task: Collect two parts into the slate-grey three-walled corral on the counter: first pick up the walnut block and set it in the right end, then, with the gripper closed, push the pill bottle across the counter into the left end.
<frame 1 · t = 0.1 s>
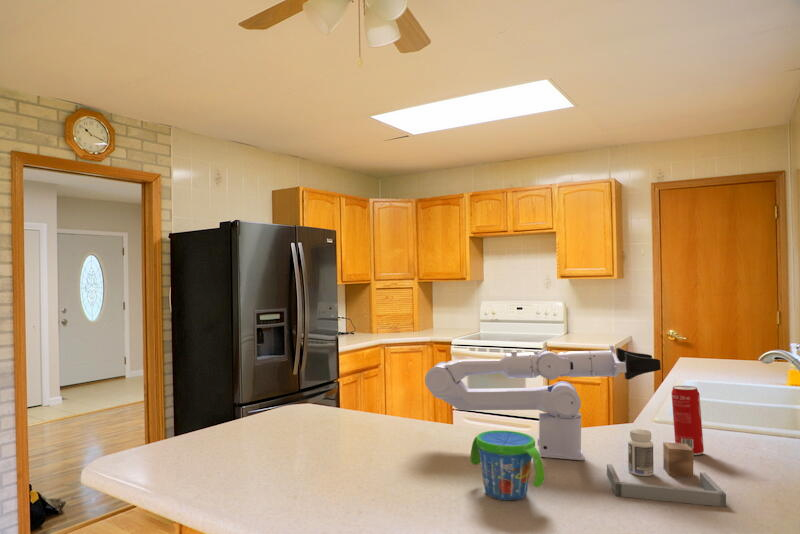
hand: (655, 362, 116), 22 cm above the worktop, tool horizontal, fingers open, 7 cm apart
walnut block: (678, 473, 109), on the worktop
beverage can: (687, 452, 123), on the worktop
pill bottle: (640, 473, 109), on the worktop
snack cup: (505, 495, 97), on the worktop
corral: (662, 489, 100), on the worktop
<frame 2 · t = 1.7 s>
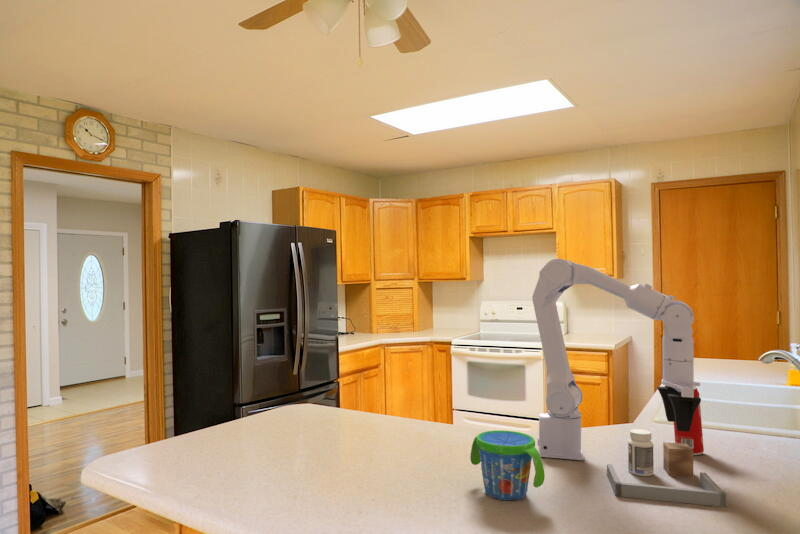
hand: (678, 426, 109), 10 cm above the worktop, tool pointing down, fingers open, 7 cm apart
nothing on the worktop moved.
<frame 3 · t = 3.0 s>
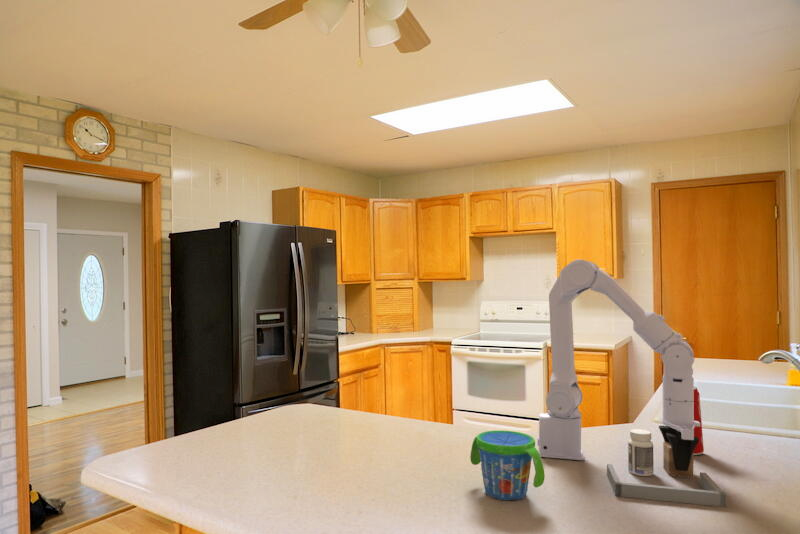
hand: (678, 465, 109), 1 cm above the worktop, tool pointing down, fingers closed on walnut block, 4 cm apart
walnut block: (678, 472, 109), on the worktop, touching gripper
everything else where it was.
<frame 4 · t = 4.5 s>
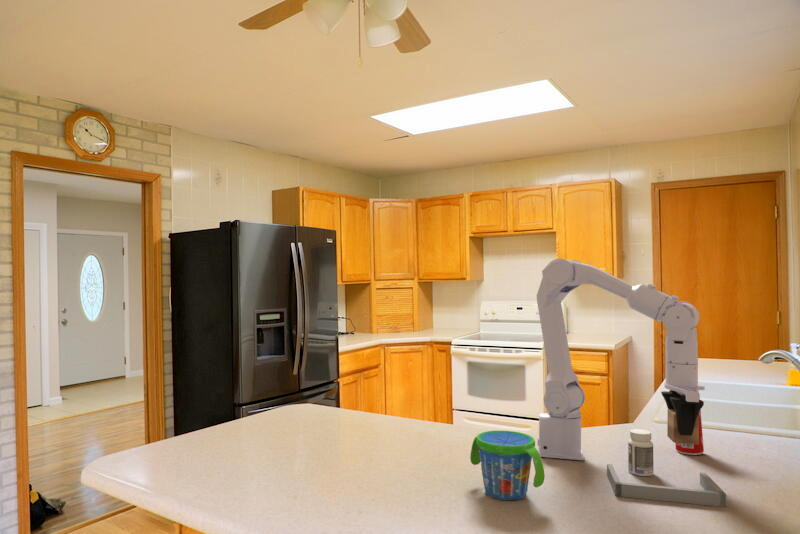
hand: (681, 431, 106), 9 cm above the worktop, tool pointing down, fingers closed on walnut block, 4 cm apart
walnut block: (682, 440, 106), point 8 cm above the worktop, touching gripper
everything else where it was.
when the fingers open (4 cm above the worktop, at t = 6.4 s): walnut block drops 2 cm, on the worktop.
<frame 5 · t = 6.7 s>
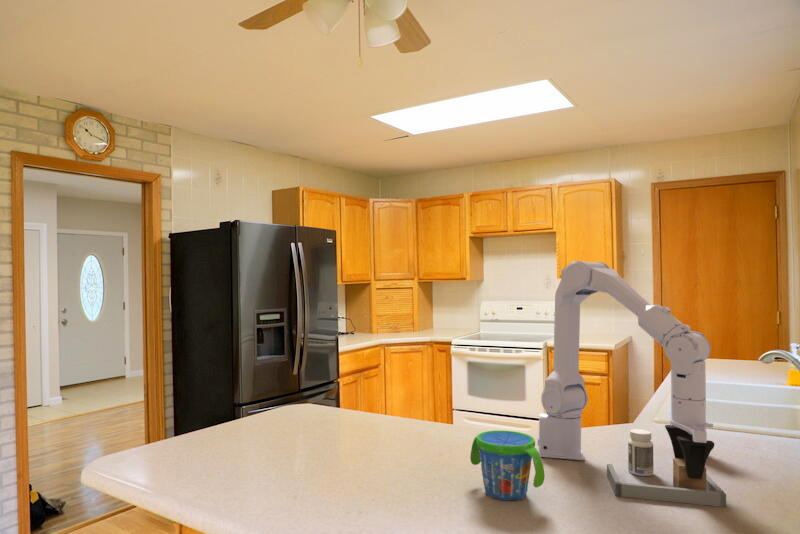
hand: (688, 471, 99), 4 cm above the worktop, tool pointing down, fingers open, 7 cm apart
walnut block: (689, 492, 99), on the worktop
everything else where it was.
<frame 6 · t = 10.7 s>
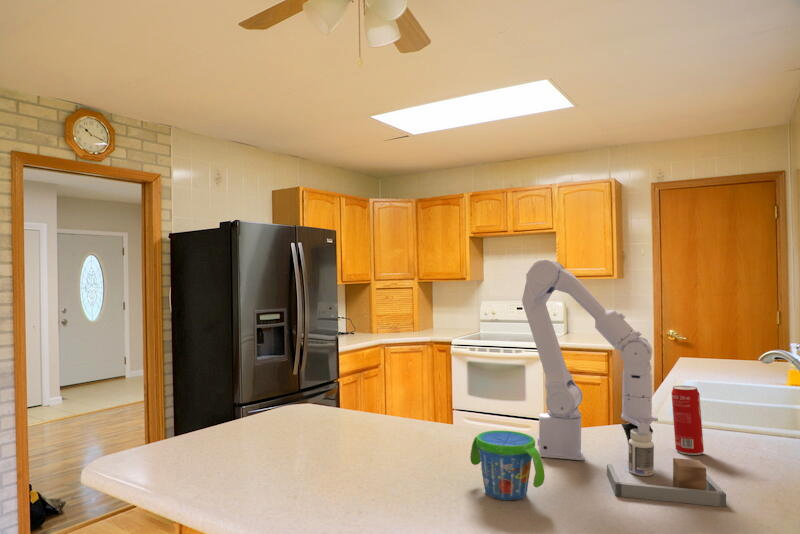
hand: (636, 459, 113), 1 cm above the worktop, tool pointing down, fingers closed
pill bottle: (640, 472, 109), on the worktop, touching gripper
everything else where it was.
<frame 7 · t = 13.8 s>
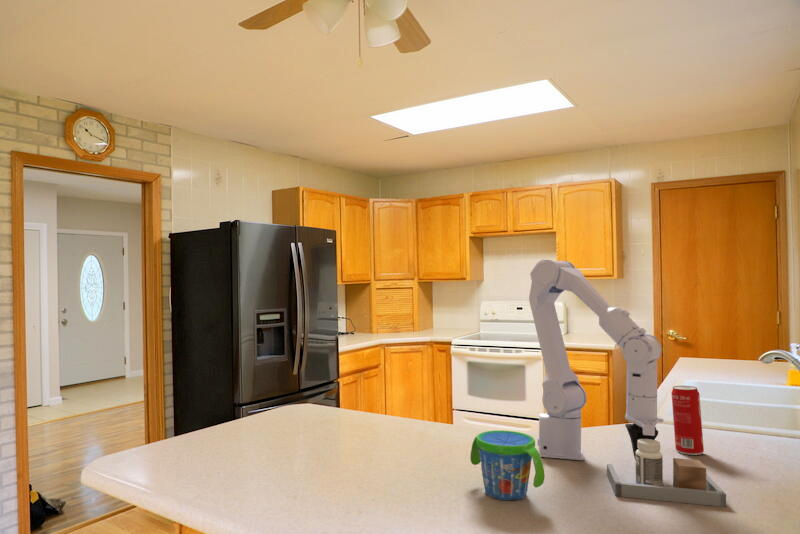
hand: (641, 461, 108), 2 cm above the worktop, tool pointing down, fingers closed
pill bottle: (648, 486, 102), on the worktop
everything else where it was.
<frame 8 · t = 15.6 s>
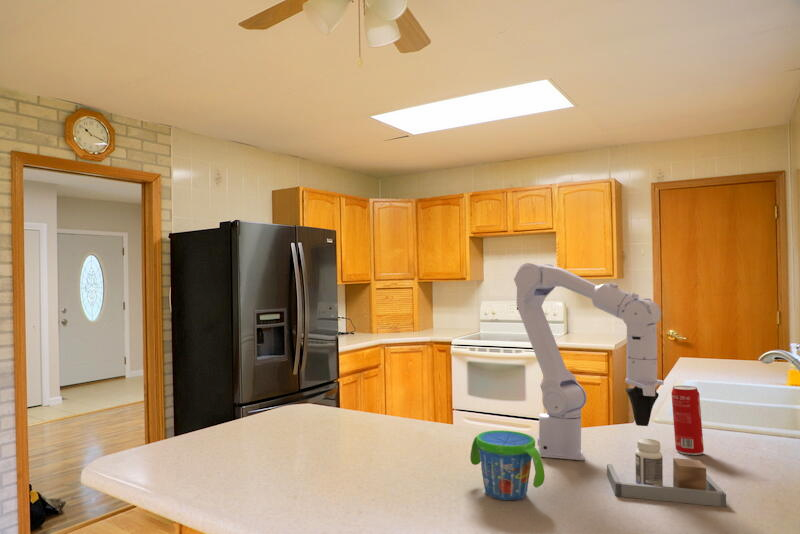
hand: (641, 425, 108), 10 cm above the worktop, tool pointing down, fingers closed
nothing on the worktop moved.
at the end: pill bottle inside the target area on the corral (2.7 cm from its centre), point 0.0 cm above the corral's base; walnut block inside the target area on the corral (4.7 cm from its centre), point 0.0 cm above the corral's base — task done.
